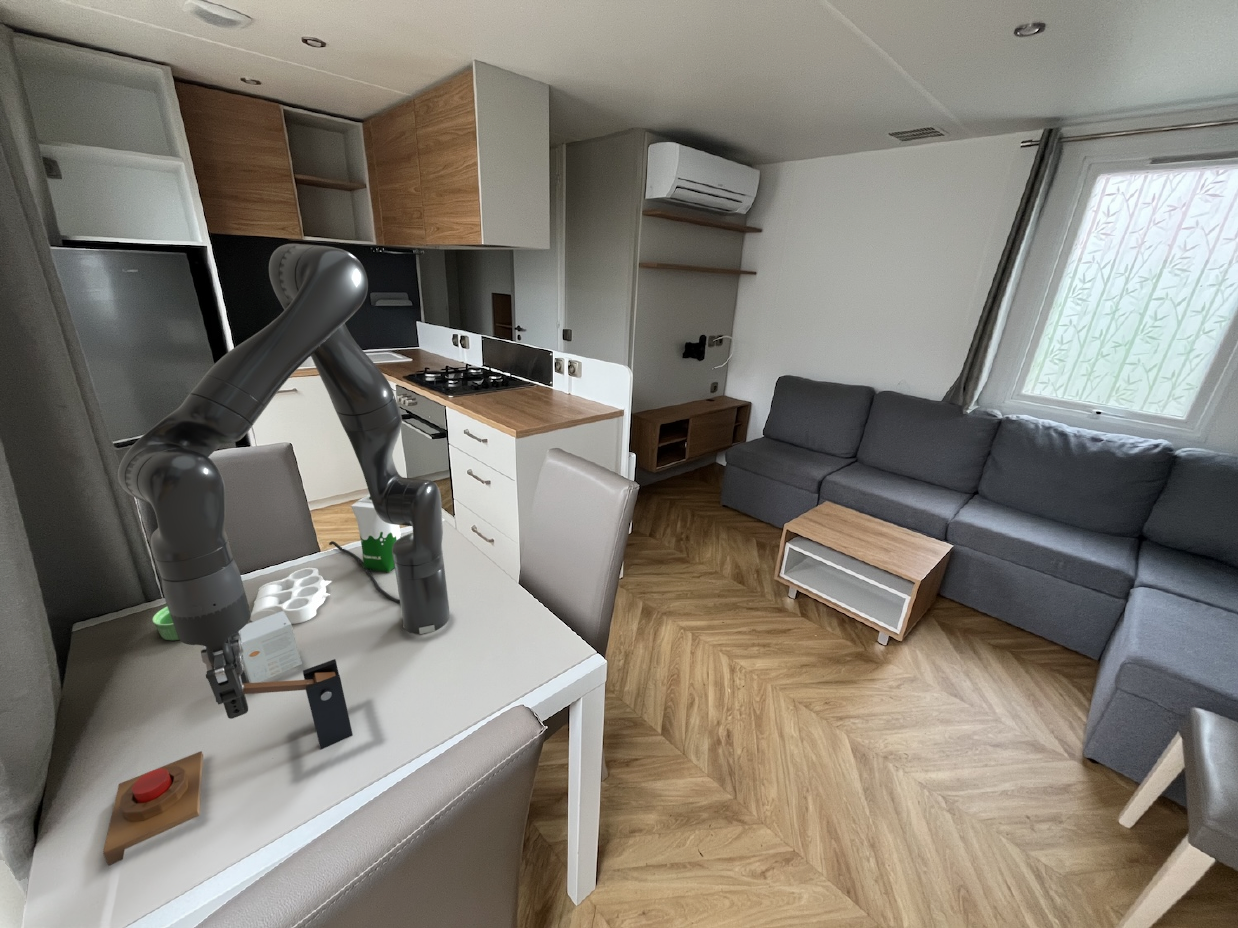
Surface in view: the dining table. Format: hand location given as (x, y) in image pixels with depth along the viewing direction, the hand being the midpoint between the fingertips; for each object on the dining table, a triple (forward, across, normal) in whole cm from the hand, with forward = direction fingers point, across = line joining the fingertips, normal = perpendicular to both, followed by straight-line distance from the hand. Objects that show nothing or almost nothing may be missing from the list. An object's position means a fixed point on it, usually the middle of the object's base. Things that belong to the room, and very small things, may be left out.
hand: (238, 699), depth 68 cm
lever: (+1, 0, -5) cm, 5 cm away
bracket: (+14, 0, -10) cm, 17 cm away
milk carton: (+14, +51, -28) cm, 60 cm away
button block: (+14, +1, +11) cm, 18 cm away
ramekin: (+14, +47, +11) cm, 50 cm away
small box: (+14, +22, -3) cm, 26 cm away
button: (+10, +1, +11) cm, 15 cm away
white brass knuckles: (+14, +45, -8) cm, 48 cm away
